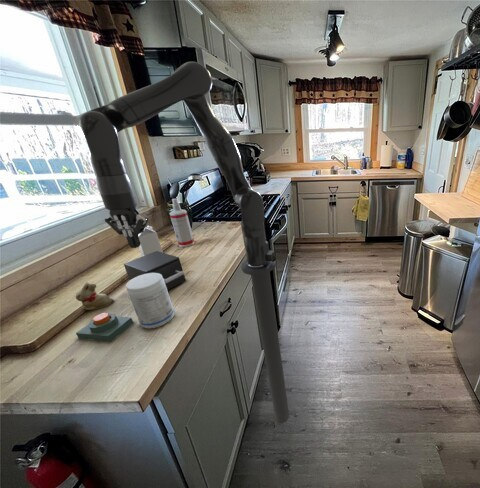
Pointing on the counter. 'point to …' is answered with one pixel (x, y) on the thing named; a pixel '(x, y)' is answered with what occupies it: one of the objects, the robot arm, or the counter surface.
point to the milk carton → (149, 241)
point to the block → (105, 329)
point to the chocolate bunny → (92, 297)
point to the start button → (101, 318)
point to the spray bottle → (181, 225)
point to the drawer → (171, 274)
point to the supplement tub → (150, 300)
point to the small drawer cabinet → (148, 264)
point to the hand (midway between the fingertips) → (135, 246)
